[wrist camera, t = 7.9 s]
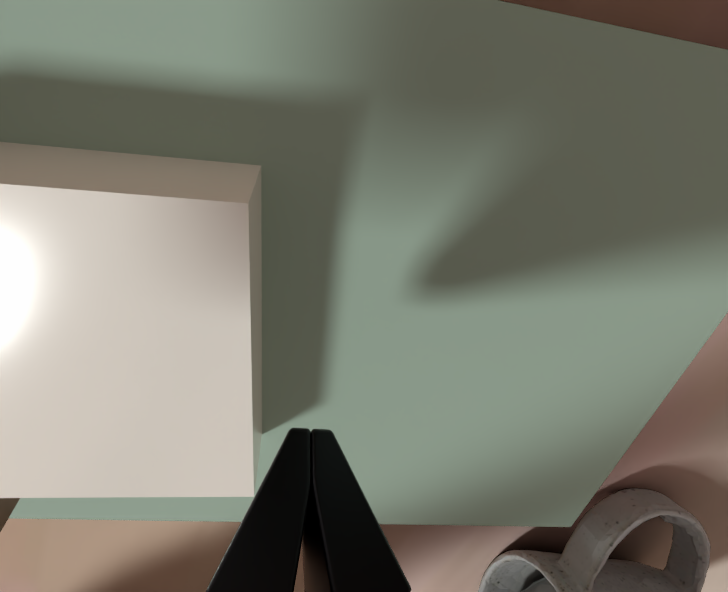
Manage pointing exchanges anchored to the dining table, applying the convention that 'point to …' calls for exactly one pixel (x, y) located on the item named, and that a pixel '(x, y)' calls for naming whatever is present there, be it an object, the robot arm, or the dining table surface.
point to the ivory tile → (128, 325)
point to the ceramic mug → (594, 545)
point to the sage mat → (422, 225)
